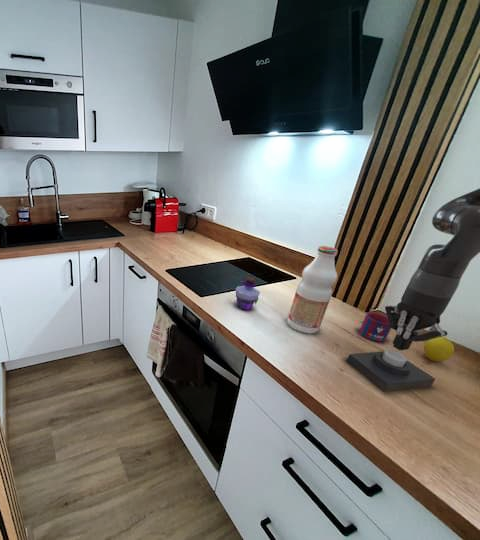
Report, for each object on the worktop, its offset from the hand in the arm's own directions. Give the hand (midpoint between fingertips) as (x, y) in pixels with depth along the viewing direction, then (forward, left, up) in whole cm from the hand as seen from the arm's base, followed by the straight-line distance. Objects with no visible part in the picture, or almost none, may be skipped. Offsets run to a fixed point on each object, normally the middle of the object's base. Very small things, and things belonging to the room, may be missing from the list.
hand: (398, 348), depth 74 cm
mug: (-5, -21, -9) cm, 23 cm away
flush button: (0, 0, -4) cm, 4 cm away
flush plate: (0, 0, -8) cm, 8 cm away
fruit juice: (+16, -18, -9) cm, 26 cm away
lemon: (-16, -11, -9) cm, 21 cm away
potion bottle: (+34, -25, -9) cm, 43 cm away
